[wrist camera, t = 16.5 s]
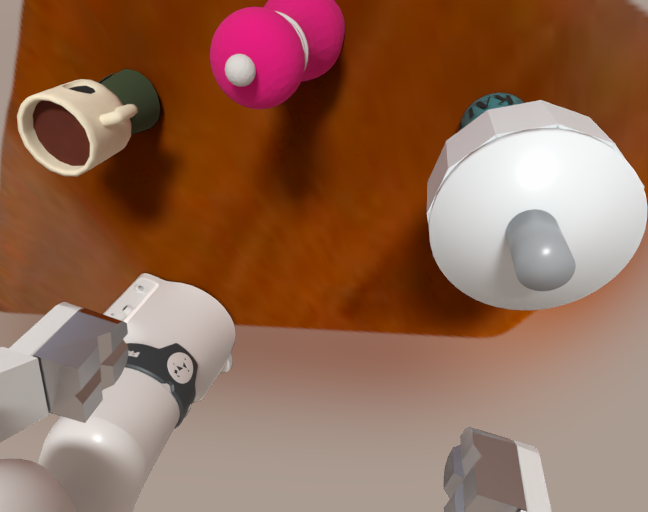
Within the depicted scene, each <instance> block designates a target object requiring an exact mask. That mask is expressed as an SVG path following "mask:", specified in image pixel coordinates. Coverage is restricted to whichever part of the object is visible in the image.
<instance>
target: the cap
mask: <svg viewBox="0 0 648 512" xmlns="http://www.w3.org/2000/svg"><path fill="white" fill-rule="evenodd" d="M427 219H428V225H429V236H430V245H431V249H432V253H433V257H434V258H435V261H436V263H437V265H438V266H439V268H440V270H441V271H442V273H443V274H444V275H445V276H446V278H447V279H448V280H449V281H450V282H451V283H452V284H453V285H454V286H455V287H456V288H458V289H459V290H460V291H462V292H463V293H465V294H466V295H468V296H470V297H472V298H473V299H475V300H478V301H480V302H483V303H485V304H488V305H492V306H495V307H499V308H505V309H512V310H539V309H547V308H552V307H557V306H561V305H564V304H568V303H570V302H573V301H576V300H578V299H581V298H583V297H585V296H587V295H589V294H591V293H593V292H595V291H596V290H598V289H599V288H601V287H602V286H603V285H605V284H607V283H608V282H609V281H610V280H611V279H613V278H614V277H615V276H616V275H617V274H618V273H619V272H620V271H621V270H622V269H623V268H624V267H625V266H626V265H627V264H628V262H629V261H630V259H631V258H632V256H633V255H634V254H635V252H636V250H637V248H638V246H639V244H640V242H641V240H642V237H643V234H644V231H645V226H646V221H647V201H646V195H645V192H644V186H643V184H642V183H641V181H640V179H639V177H638V176H637V174H636V172H635V170H634V169H633V168H632V167H631V166H630V164H629V163H628V162H627V161H626V159H625V158H624V156H623V155H622V153H621V152H620V151H619V149H618V148H617V146H616V145H615V143H614V142H613V141H612V140H611V139H610V138H609V137H608V136H607V135H606V134H605V133H604V132H603V131H602V130H601V129H600V128H599V127H598V126H597V125H596V124H595V123H594V122H593V121H592V120H591V119H590V117H588V116H585V115H582V114H579V113H576V112H573V111H570V110H568V109H565V108H562V107H559V106H556V105H553V104H550V103H548V102H545V101H542V100H539V101H533V102H528V103H522V104H517V105H511V106H506V107H500V108H495V109H489V110H487V111H485V112H484V113H483V114H481V115H480V116H479V117H477V118H476V119H475V120H473V121H472V122H471V123H469V124H468V125H467V126H465V127H464V128H463V129H461V130H460V131H459V132H457V133H456V134H455V135H453V136H452V137H451V138H449V139H448V140H447V141H446V143H445V145H444V147H443V149H442V152H441V154H440V156H439V158H438V160H437V163H436V165H435V167H434V169H433V171H432V174H431V176H430V178H429V180H428V191H427Z"/></svg>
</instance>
